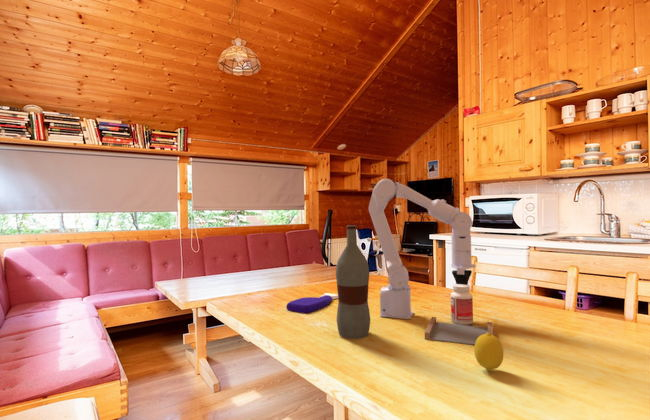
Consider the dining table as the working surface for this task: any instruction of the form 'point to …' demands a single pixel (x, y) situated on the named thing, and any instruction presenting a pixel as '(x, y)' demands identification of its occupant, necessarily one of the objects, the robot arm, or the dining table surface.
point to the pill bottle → (461, 305)
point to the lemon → (488, 351)
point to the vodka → (352, 290)
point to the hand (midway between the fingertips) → (462, 293)
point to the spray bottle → (310, 303)
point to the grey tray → (455, 332)
